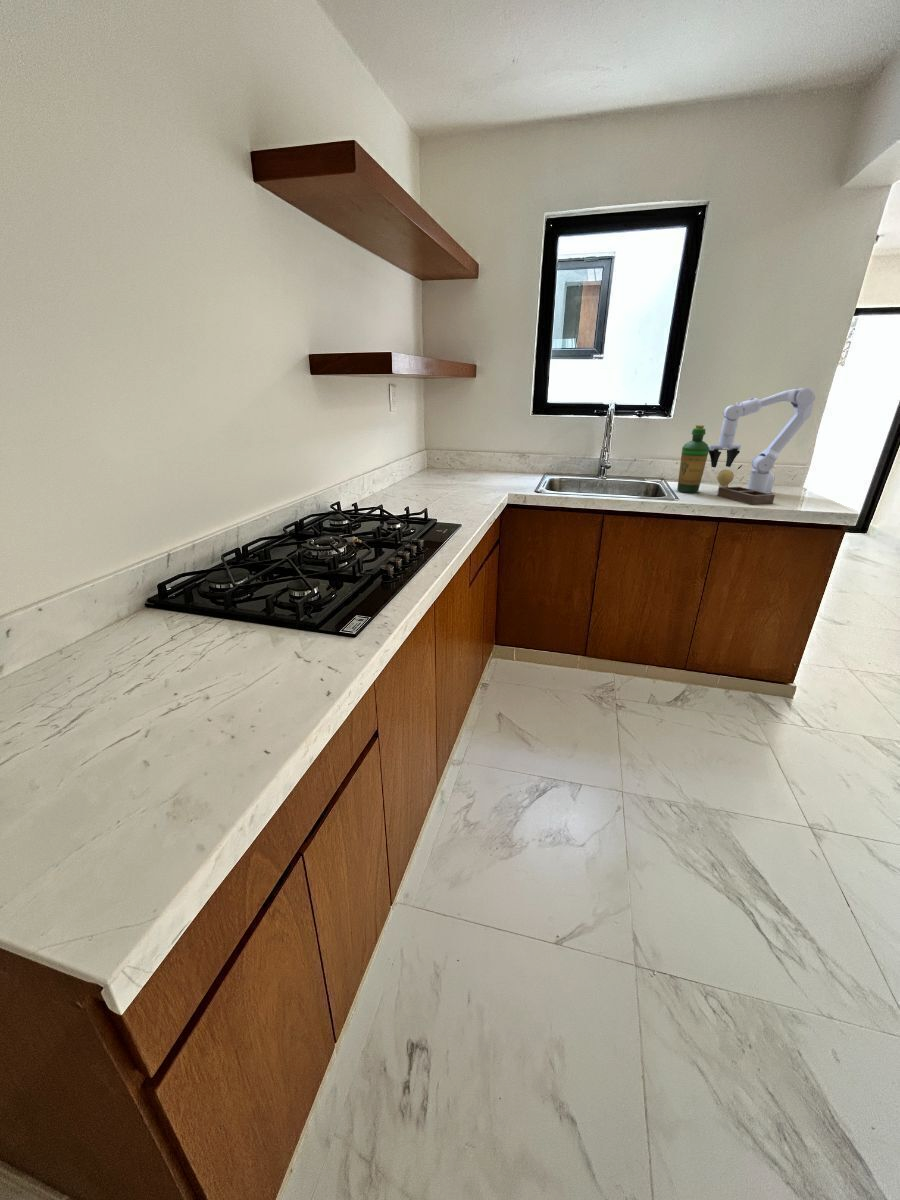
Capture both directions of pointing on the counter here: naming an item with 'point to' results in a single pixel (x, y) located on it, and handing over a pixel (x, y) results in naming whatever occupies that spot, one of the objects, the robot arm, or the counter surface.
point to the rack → (746, 495)
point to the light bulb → (725, 478)
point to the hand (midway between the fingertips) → (720, 466)
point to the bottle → (693, 462)
